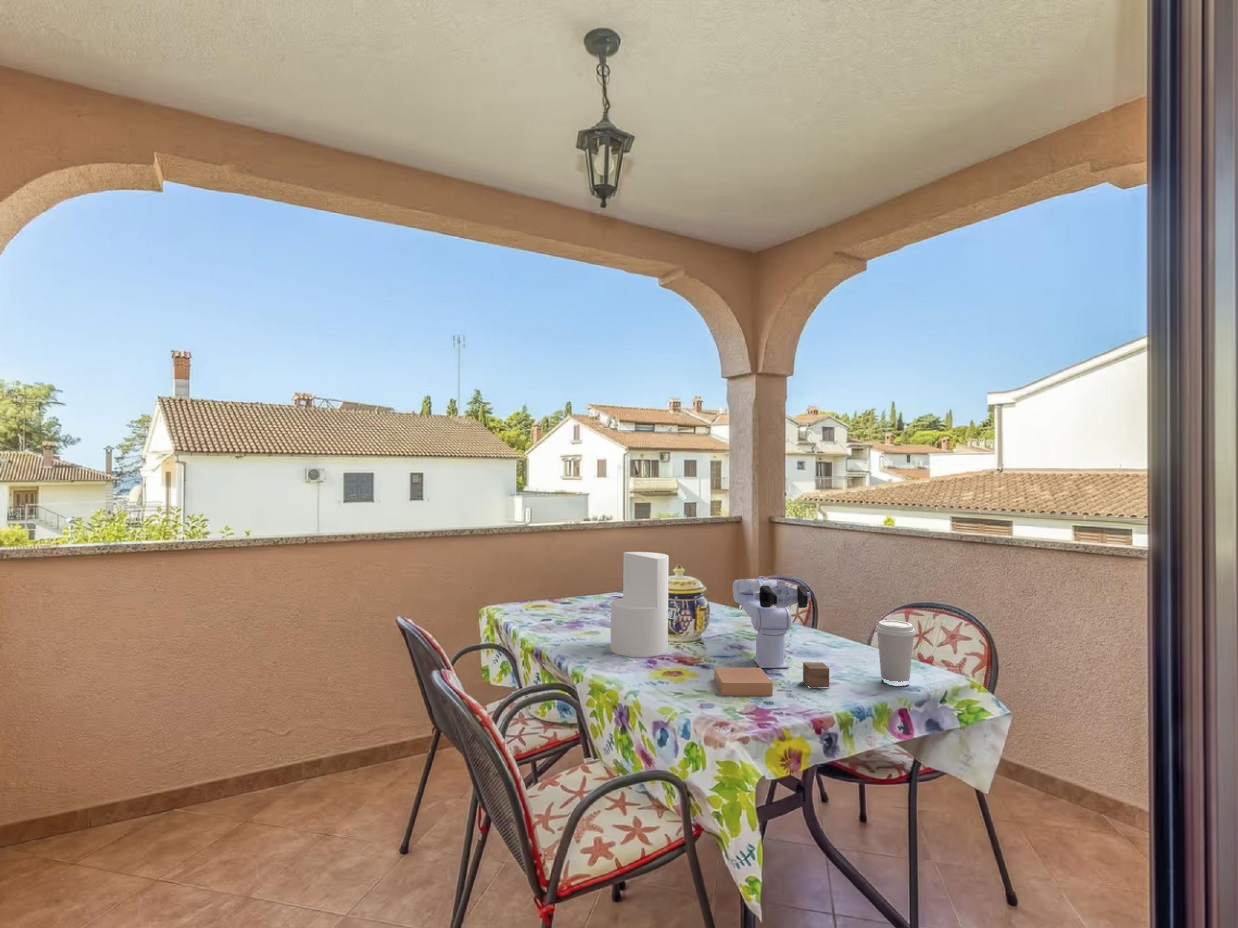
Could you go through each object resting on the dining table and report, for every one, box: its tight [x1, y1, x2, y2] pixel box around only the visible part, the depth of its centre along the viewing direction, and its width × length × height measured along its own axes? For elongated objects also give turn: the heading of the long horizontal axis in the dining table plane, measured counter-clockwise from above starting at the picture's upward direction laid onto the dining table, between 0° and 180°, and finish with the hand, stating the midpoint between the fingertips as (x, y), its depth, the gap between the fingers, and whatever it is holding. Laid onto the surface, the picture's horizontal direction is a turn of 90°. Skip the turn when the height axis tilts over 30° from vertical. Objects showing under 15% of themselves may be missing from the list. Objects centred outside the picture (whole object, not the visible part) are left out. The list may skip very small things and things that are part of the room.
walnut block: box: [802, 661, 830, 688], centre depth 161 cm, size 5×5×5 cm
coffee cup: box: [874, 619, 917, 682], centre depth 164 cm, size 10×10×15 cm
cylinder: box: [609, 551, 670, 658], centre depth 193 cm, size 17×17×28 cm
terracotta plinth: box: [713, 666, 774, 697], centre depth 159 cm, size 12×12×3 cm
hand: (790, 599), depth 159 cm, fingers open, 7 cm apart
